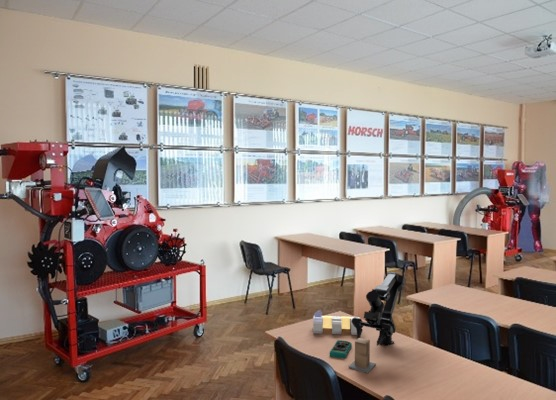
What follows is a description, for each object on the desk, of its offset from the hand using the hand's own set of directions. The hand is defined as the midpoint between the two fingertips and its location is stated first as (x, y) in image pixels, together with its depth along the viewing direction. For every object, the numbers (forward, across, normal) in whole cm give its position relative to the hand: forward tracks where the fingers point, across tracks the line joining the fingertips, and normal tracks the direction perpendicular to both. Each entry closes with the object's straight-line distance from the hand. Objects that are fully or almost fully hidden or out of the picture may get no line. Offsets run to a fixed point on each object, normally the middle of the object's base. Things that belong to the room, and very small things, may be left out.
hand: (367, 343), depth 192 cm
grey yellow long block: (-11, -28, +25) cm, 39 cm away
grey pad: (+10, 0, +2) cm, 11 cm away
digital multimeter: (+4, -15, +9) cm, 18 cm away
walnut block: (+10, 0, +1) cm, 10 cm away
